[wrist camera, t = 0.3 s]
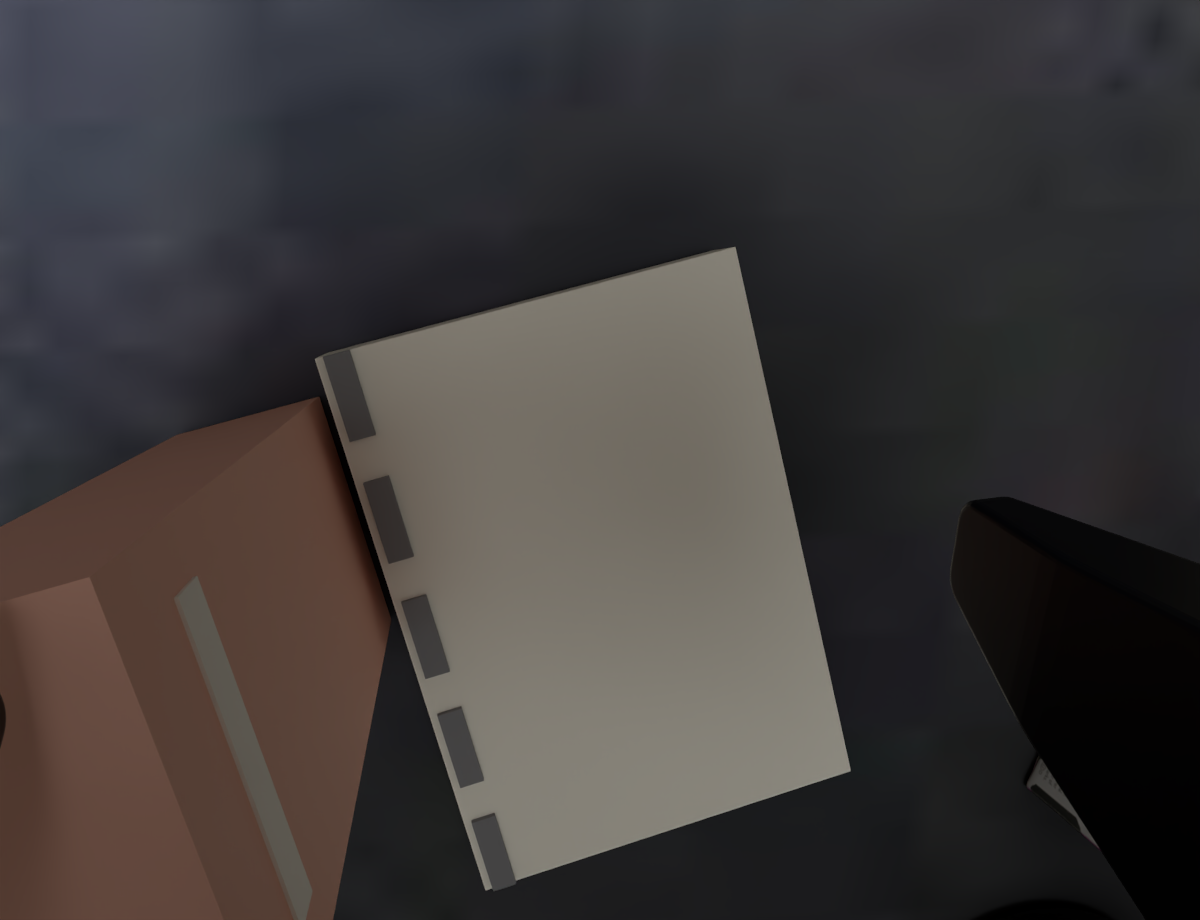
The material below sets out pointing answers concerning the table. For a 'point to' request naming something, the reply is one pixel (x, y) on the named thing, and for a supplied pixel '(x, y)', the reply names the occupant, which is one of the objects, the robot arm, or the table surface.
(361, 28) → the table surface
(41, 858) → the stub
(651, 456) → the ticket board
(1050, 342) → the table surface
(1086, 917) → the ink bottle
